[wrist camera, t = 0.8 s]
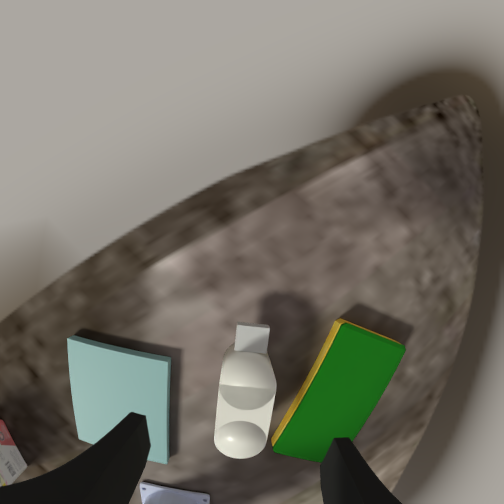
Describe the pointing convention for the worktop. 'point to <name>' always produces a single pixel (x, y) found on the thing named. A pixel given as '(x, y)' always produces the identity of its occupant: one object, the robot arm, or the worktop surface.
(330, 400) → the dish sponge
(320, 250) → the worktop surface
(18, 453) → the ink cartridge box
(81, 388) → the teal mat
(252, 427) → the white rounded piece
